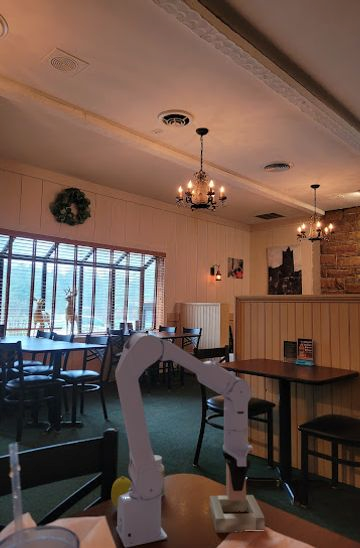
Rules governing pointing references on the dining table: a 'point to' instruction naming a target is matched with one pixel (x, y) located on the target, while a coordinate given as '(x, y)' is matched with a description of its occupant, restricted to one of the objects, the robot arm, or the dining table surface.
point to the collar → (236, 521)
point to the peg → (229, 489)
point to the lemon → (120, 489)
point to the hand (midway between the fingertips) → (235, 486)
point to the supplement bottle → (160, 469)
